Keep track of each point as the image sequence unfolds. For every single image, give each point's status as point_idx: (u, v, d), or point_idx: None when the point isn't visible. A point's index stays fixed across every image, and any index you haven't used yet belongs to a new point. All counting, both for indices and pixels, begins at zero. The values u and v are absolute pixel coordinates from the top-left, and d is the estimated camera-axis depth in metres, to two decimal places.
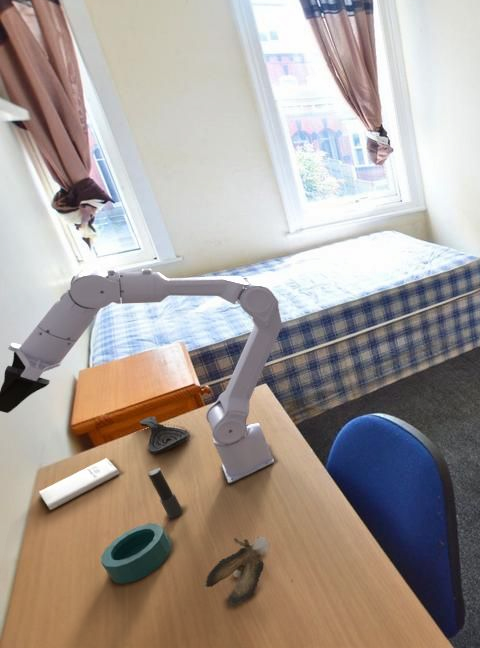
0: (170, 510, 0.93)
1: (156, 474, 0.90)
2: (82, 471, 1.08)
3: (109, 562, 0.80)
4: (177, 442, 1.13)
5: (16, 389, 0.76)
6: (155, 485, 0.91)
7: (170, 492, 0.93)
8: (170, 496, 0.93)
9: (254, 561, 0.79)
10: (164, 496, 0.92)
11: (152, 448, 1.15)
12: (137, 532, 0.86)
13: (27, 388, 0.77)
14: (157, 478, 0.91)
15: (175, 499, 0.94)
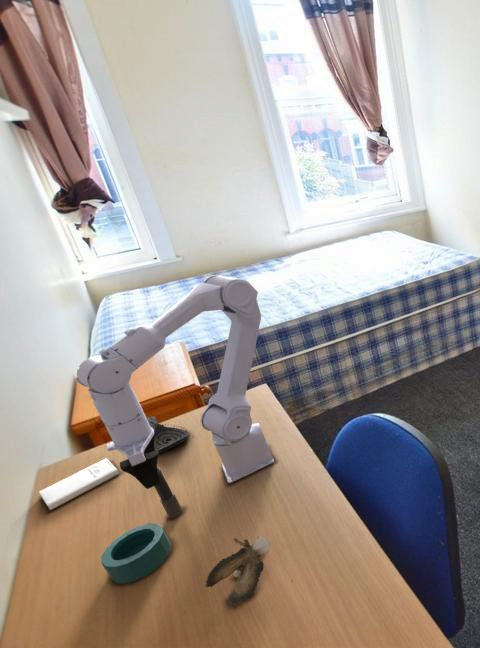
0: (170, 510, 0.93)
1: None
2: (82, 471, 1.08)
3: (109, 562, 0.80)
4: (177, 442, 1.13)
5: (144, 469, 0.86)
6: None
7: (170, 492, 0.93)
8: (170, 496, 0.93)
9: (254, 561, 0.79)
10: (164, 496, 0.92)
11: None
12: (137, 532, 0.86)
13: (150, 464, 0.86)
14: None
15: (175, 499, 0.94)
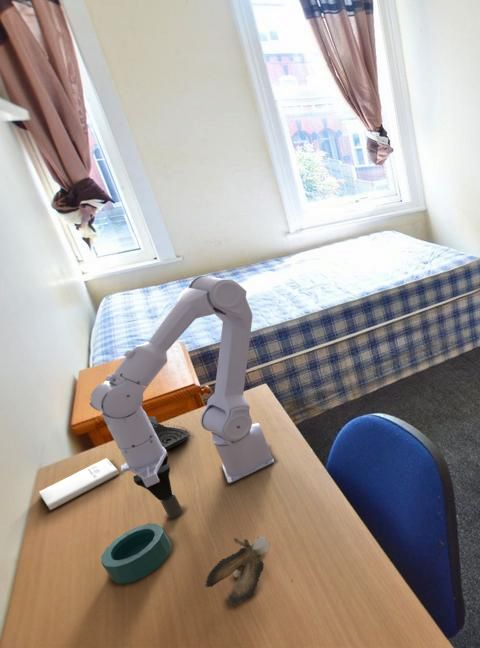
0: (170, 510, 0.93)
1: None
2: (82, 471, 1.08)
3: (109, 562, 0.80)
4: (177, 442, 1.13)
5: (157, 482, 0.90)
6: None
7: None
8: (170, 496, 0.93)
9: (254, 561, 0.79)
10: None
11: None
12: (137, 532, 0.86)
13: (162, 477, 0.90)
14: None
15: (175, 499, 0.94)
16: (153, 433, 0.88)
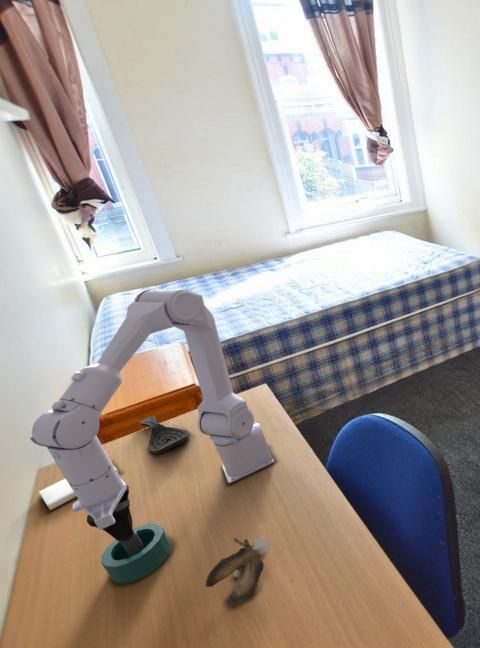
0: (131, 551, 0.83)
1: None
2: None
3: (109, 562, 0.80)
4: (177, 442, 1.13)
5: (115, 521, 0.79)
6: None
7: None
8: None
9: (254, 561, 0.79)
10: None
11: (152, 448, 1.15)
12: (137, 532, 0.86)
13: (121, 515, 0.80)
14: None
15: (137, 538, 0.83)
16: (111, 463, 0.78)
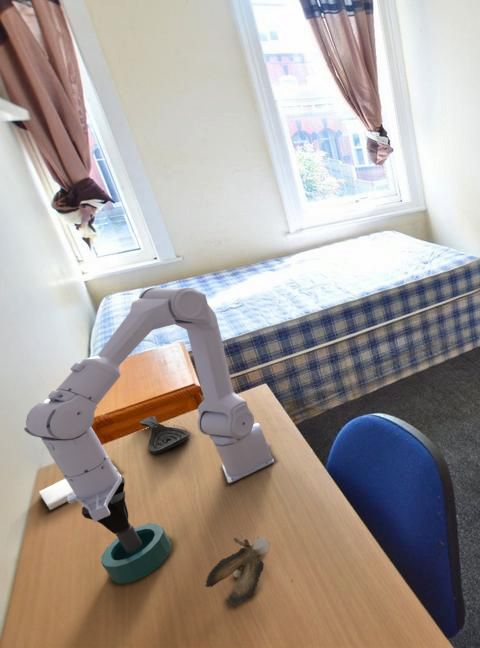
0: (127, 544, 0.82)
1: None
2: None
3: (109, 562, 0.80)
4: (177, 442, 1.13)
5: (110, 514, 0.79)
6: None
7: None
8: (127, 528, 0.82)
9: (254, 561, 0.79)
10: None
11: (152, 448, 1.15)
12: (137, 532, 0.86)
13: (116, 507, 0.79)
14: None
15: (133, 531, 0.83)
16: (106, 455, 0.78)
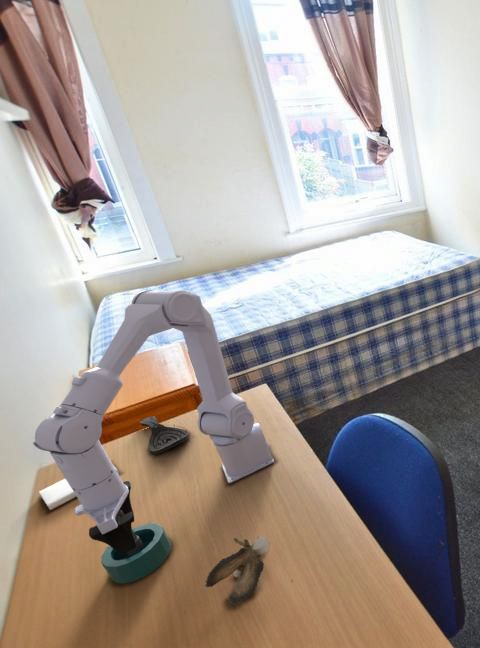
0: None
1: None
2: None
3: (109, 562, 0.80)
4: (177, 442, 1.13)
5: (118, 534, 0.78)
6: None
7: (134, 535, 0.83)
8: None
9: (254, 561, 0.79)
10: None
11: (152, 448, 1.15)
12: (137, 532, 0.86)
13: (124, 528, 0.78)
14: None
15: (139, 543, 0.84)
16: (113, 468, 0.79)
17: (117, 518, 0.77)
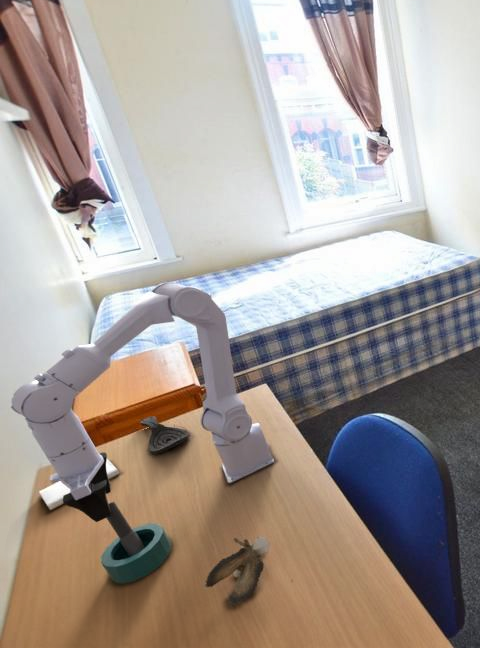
0: (130, 549, 0.83)
1: None
2: None
3: (109, 562, 0.80)
4: (177, 442, 1.13)
5: (92, 502, 0.80)
6: (109, 519, 0.84)
7: (128, 527, 0.85)
8: (128, 532, 0.84)
9: (254, 561, 0.79)
10: (121, 532, 0.84)
11: (152, 448, 1.15)
12: (137, 532, 0.86)
13: (98, 496, 0.80)
14: (110, 510, 0.84)
15: (135, 536, 0.85)
16: (87, 439, 0.80)
17: (91, 486, 0.79)
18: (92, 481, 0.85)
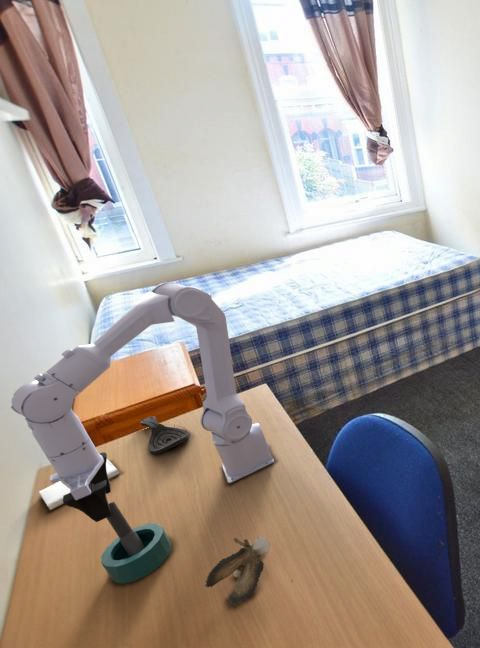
0: (130, 549, 0.83)
1: None
2: None
3: (109, 562, 0.80)
4: (177, 442, 1.13)
5: (92, 502, 0.80)
6: (109, 519, 0.84)
7: (128, 527, 0.85)
8: (128, 532, 0.84)
9: (254, 561, 0.79)
10: (121, 532, 0.84)
11: (152, 448, 1.15)
12: (137, 532, 0.86)
13: (98, 496, 0.80)
14: (110, 510, 0.84)
15: (135, 536, 0.85)
16: (87, 439, 0.80)
17: (91, 486, 0.79)
18: (92, 481, 0.85)
